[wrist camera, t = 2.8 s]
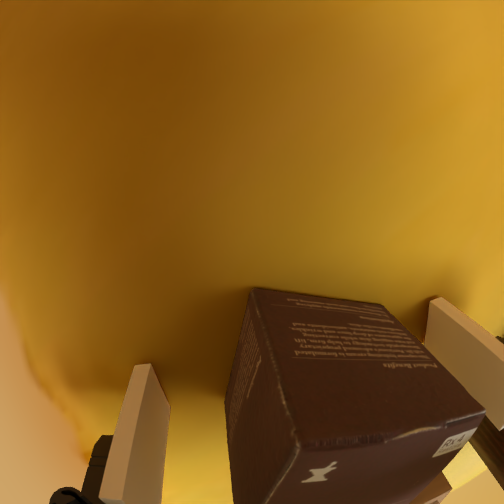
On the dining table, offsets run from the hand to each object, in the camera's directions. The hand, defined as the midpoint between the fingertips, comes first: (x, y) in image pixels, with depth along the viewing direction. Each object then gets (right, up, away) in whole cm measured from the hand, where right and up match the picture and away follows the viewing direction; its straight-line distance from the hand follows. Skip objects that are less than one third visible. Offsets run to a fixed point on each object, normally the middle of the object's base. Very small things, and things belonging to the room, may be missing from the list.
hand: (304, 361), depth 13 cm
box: (0, 0, 0) cm, 1 cm away
